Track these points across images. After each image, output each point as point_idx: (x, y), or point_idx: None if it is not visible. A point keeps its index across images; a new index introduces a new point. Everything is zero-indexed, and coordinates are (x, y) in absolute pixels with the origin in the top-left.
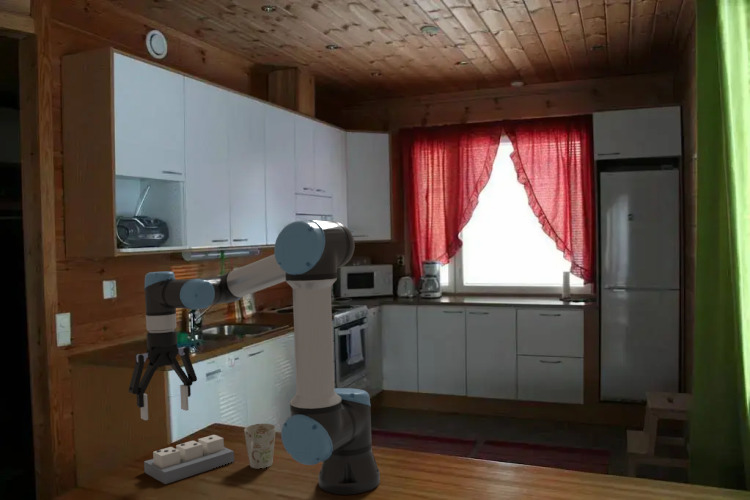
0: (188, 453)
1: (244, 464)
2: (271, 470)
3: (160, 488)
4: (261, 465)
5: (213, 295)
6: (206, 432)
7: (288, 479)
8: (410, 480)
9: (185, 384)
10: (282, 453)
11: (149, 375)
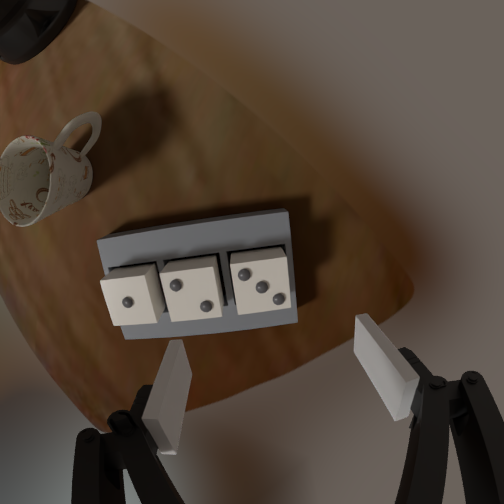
0: (205, 263)
1: (96, 203)
2: None
3: (300, 192)
4: (77, 151)
5: None
6: None
7: (76, 69)
8: None
9: (149, 438)
10: None
11: (438, 471)
